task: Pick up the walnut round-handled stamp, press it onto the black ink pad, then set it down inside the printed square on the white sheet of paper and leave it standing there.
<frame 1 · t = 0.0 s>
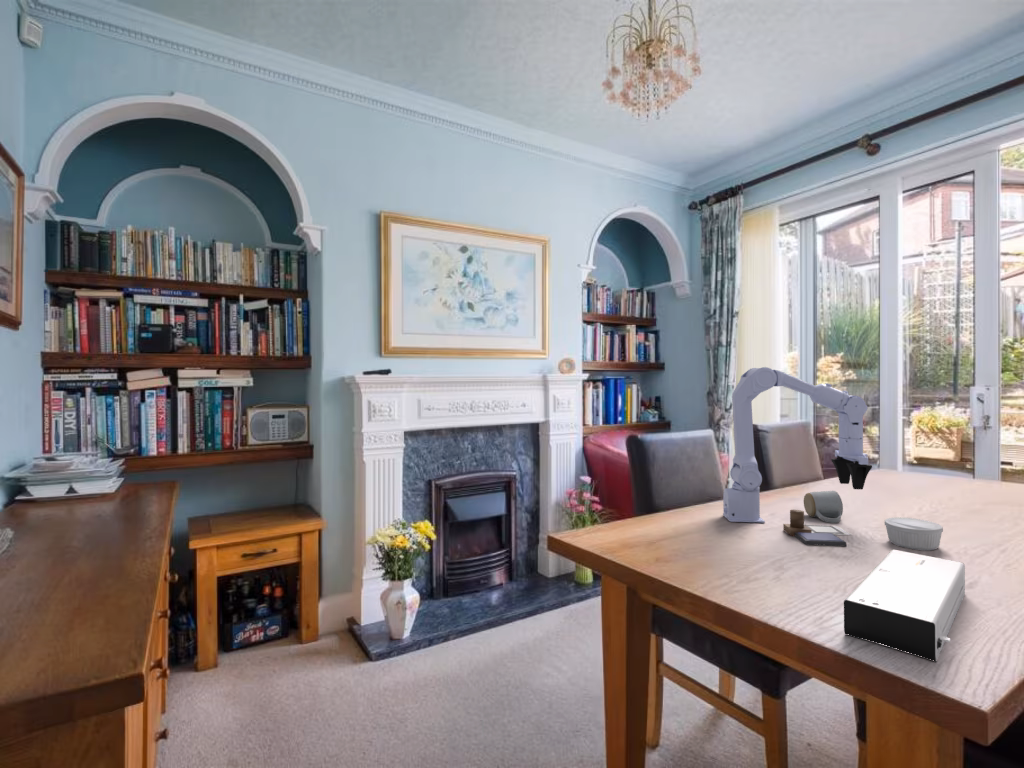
hand: (851, 486, 144), 10 cm above the table, tool pointing down, fingers open, 7 cm apart
paper: (823, 530, 136), on the table
stamp: (797, 533, 134), on the table
ramekin: (913, 545, 124), on the table
white and black box: (913, 617, 88), on the table
ceramic mug: (825, 519, 148), on the table
ink pad: (819, 541, 127), on the table
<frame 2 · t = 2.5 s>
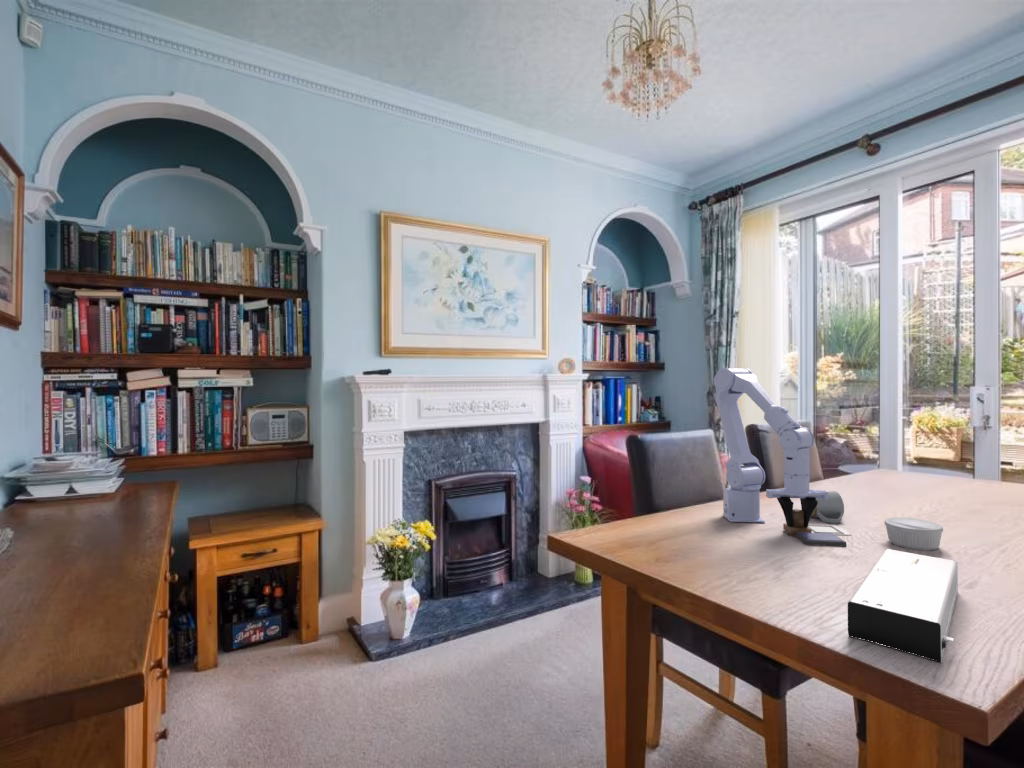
hand: (797, 525, 134), 2 cm above the table, tool pointing down, fingers closed on stamp, 3 cm apart
stamp: (797, 533, 134), on the table, touching gripper
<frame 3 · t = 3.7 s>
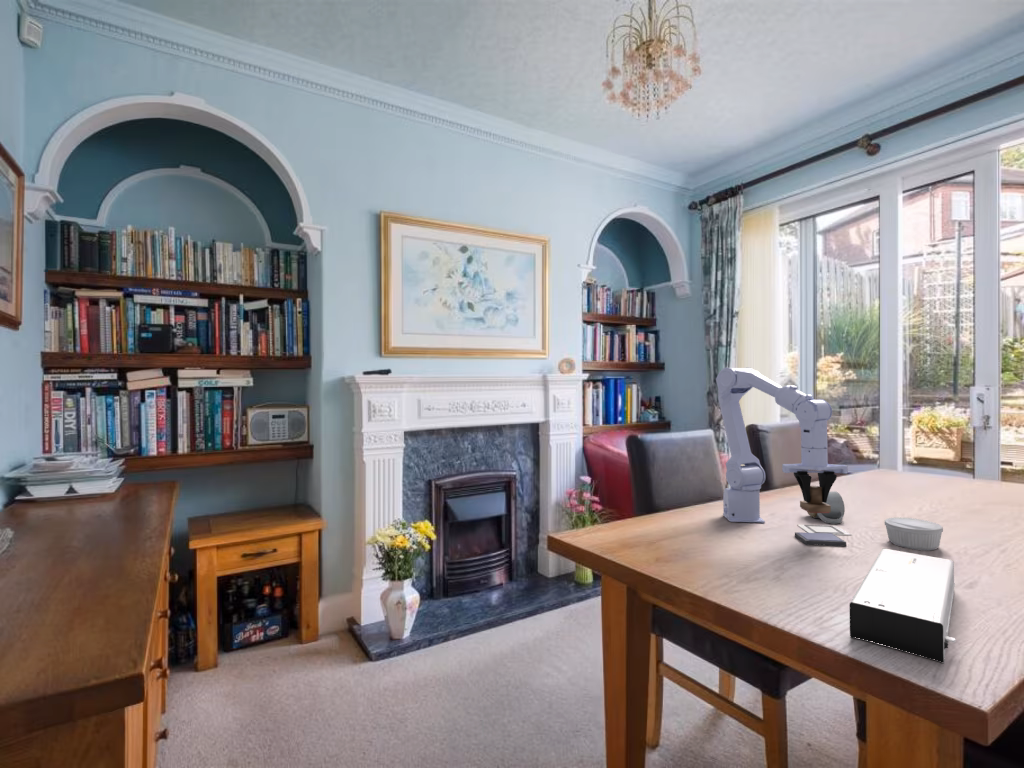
hand: (815, 501, 129), 10 cm above the table, tool pointing down, fingers closed on stamp, 3 cm apart
stamp: (815, 510, 129), point 7 cm above the table, touching gripper
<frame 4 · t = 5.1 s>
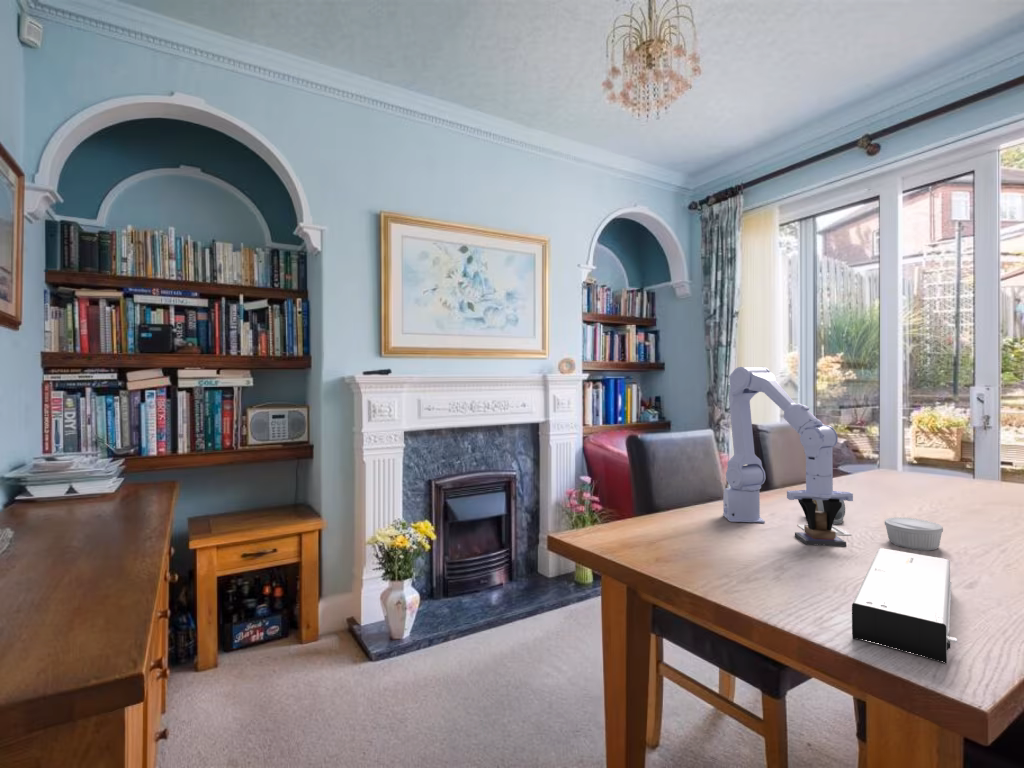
hand: (819, 528, 127), 3 cm above the table, tool pointing down, fingers closed on stamp, 3 cm apart
stamp: (819, 536, 127), point 1 cm above the table, touching gripper, ink pad
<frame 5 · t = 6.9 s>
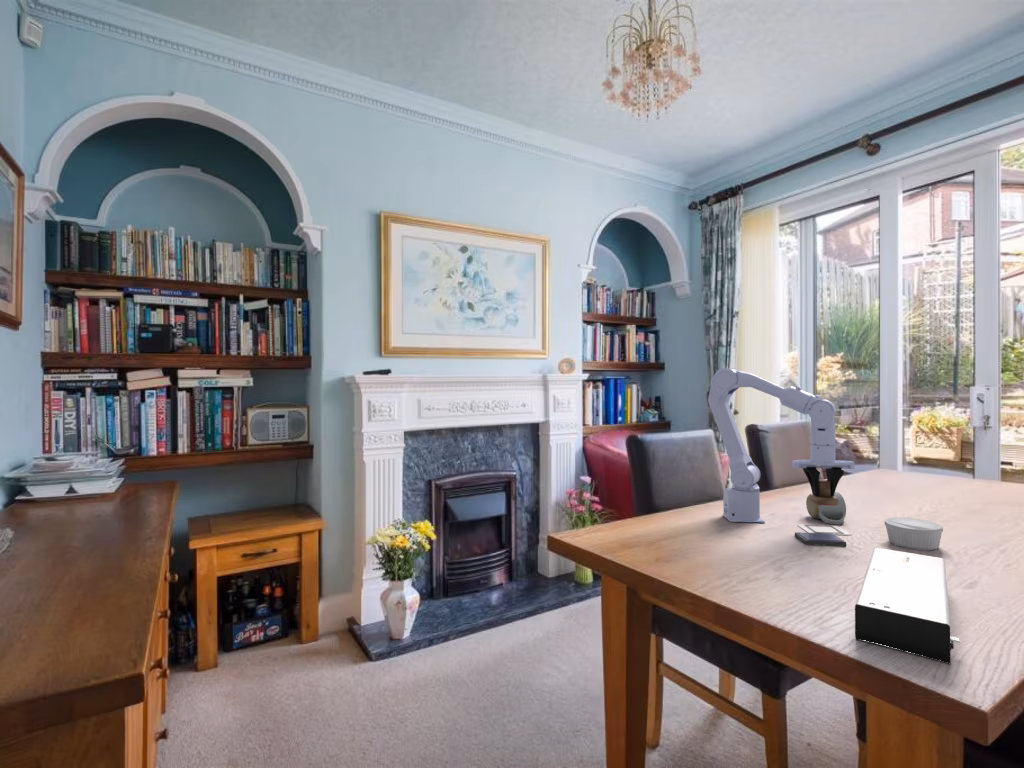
hand: (823, 495, 136), 9 cm above the table, tool pointing down, fingers closed on stamp, 3 cm apart
stamp: (823, 503, 136), point 7 cm above the table, touching gripper
when the fingers open (2 cm above the table, at t = 8.8 s): stamp stays where it is, resting on paper.
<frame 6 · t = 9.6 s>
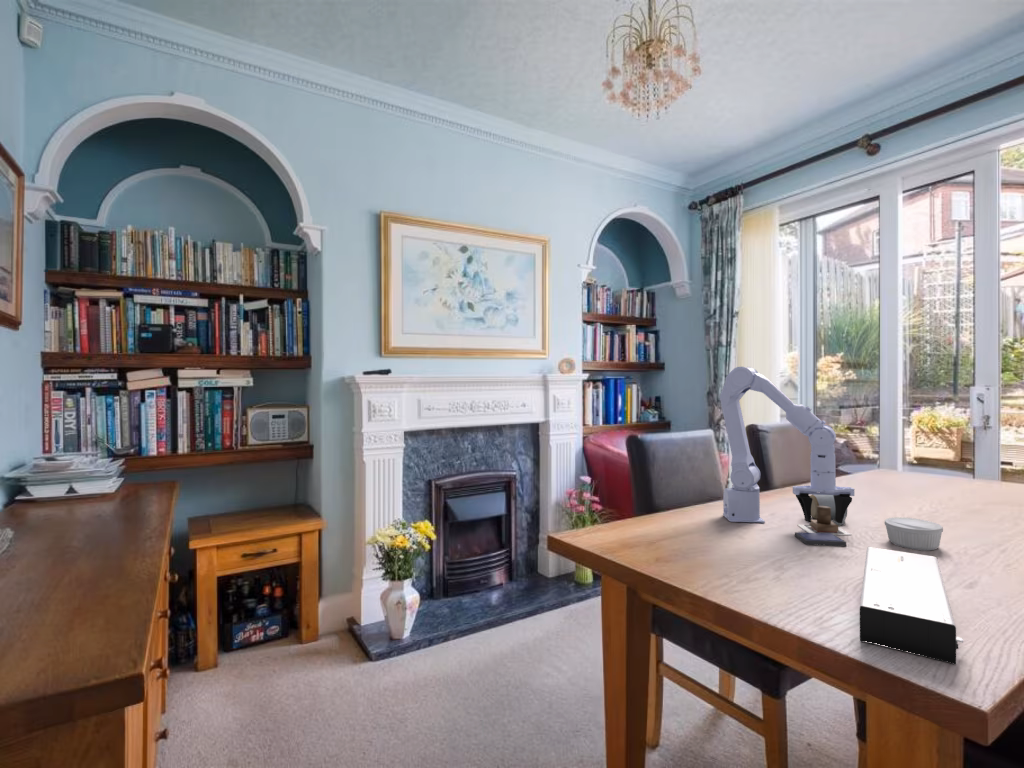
hand: (823, 521, 136), 2 cm above the table, tool pointing down, fingers open, 7 cm apart
stamp: (823, 529, 136), resting on paper
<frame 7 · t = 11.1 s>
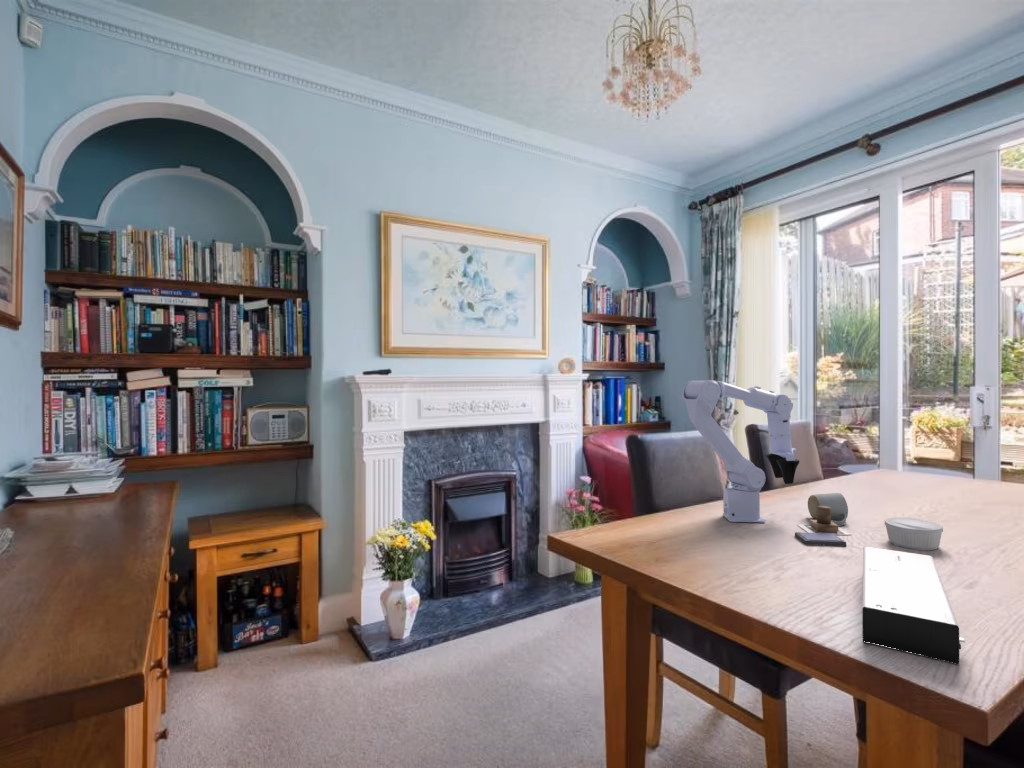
hand: (783, 480, 151), 11 cm above the table, tool pointing down, fingers open, 7 cm apart
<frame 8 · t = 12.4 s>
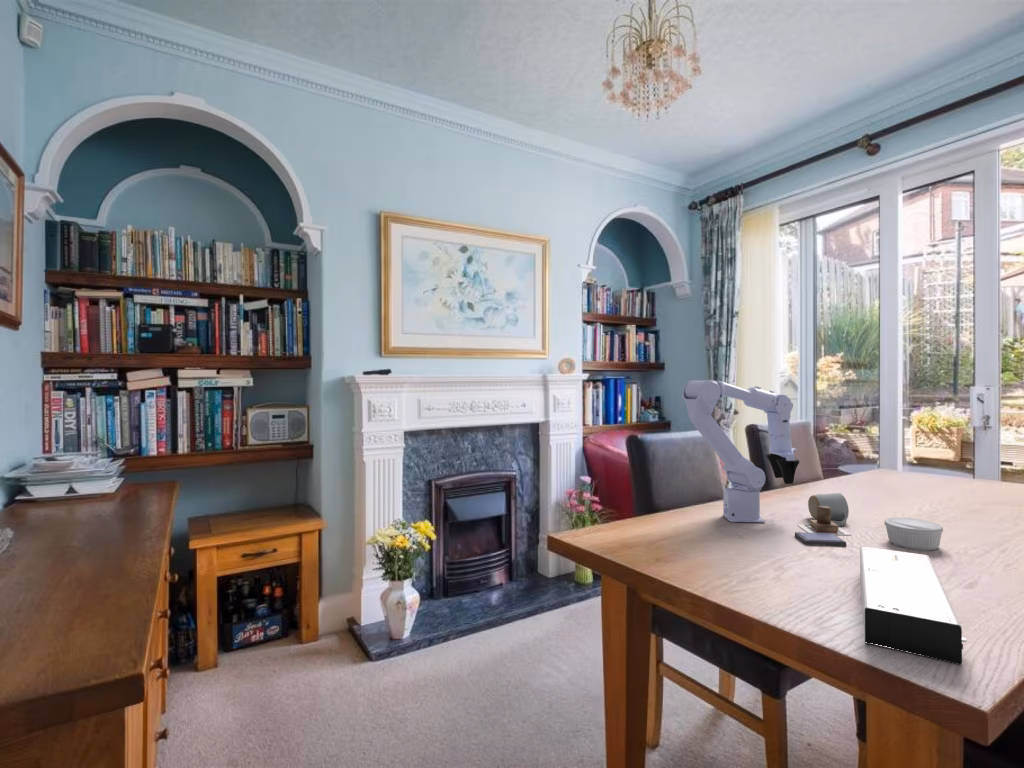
hand: (783, 480, 151), 11 cm above the table, tool pointing down, fingers open, 7 cm apart
at the end: stamp 0.3 cm off-centre on the paper, point 0.2 cm above the paper's base; stamp tilted 0°; the gripper is holding nothing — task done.
